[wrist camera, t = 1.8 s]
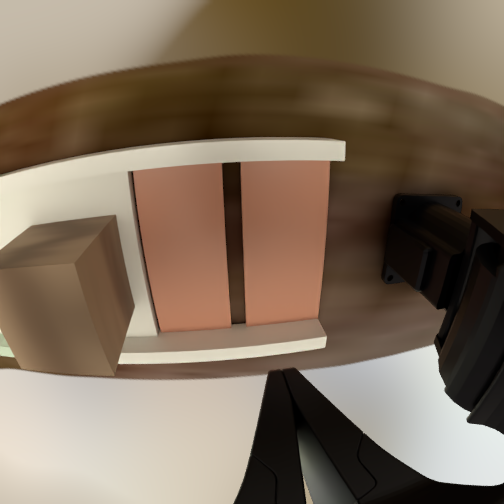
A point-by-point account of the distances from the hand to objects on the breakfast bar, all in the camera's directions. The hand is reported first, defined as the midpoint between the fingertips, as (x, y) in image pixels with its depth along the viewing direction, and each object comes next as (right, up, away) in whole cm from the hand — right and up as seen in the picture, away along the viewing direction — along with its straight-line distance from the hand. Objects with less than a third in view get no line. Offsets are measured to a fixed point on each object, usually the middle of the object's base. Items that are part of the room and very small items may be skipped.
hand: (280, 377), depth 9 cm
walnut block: (-11, +3, +7) cm, 14 cm away
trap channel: (-11, +3, +8) cm, 14 cm away
